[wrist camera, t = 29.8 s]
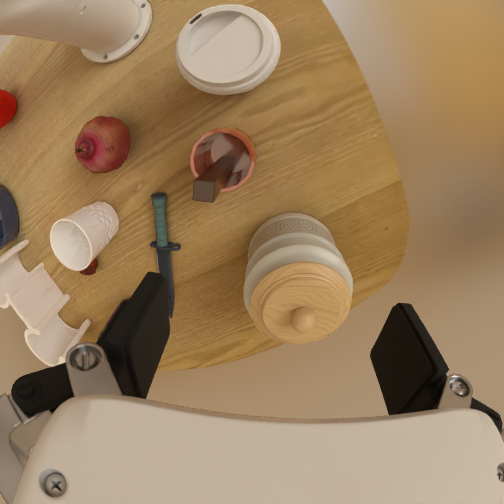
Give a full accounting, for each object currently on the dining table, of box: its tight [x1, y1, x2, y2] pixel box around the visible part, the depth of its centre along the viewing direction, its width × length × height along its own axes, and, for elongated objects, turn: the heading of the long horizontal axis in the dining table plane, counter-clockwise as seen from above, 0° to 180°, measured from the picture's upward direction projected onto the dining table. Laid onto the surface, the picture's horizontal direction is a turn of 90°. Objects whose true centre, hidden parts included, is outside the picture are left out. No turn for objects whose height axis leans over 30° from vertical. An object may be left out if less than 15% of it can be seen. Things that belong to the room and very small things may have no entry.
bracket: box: [0, 239, 91, 367], centre depth 44 cm, size 25×10×12 cm, turn 30°
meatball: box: [80, 259, 98, 275], centre depth 44 cm, size 4×4×4 cm
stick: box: [193, 156, 235, 203], centre depth 30 cm, size 2×2×16 cm
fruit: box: [75, 116, 130, 173], centre depth 32 cm, size 8×8×10 cm
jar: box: [243, 212, 353, 344], centre depth 35 cm, size 13×13×18 cm
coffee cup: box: [175, 4, 281, 95], centre depth 25 cm, size 10×10×15 cm
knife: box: [150, 193, 181, 318], centre depth 44 cm, size 23×2×5 cm
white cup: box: [50, 201, 119, 271], centre depth 38 cm, size 8×8×10 cm
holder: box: [190, 128, 256, 192], centre depth 34 cm, size 8×8×6 cm
